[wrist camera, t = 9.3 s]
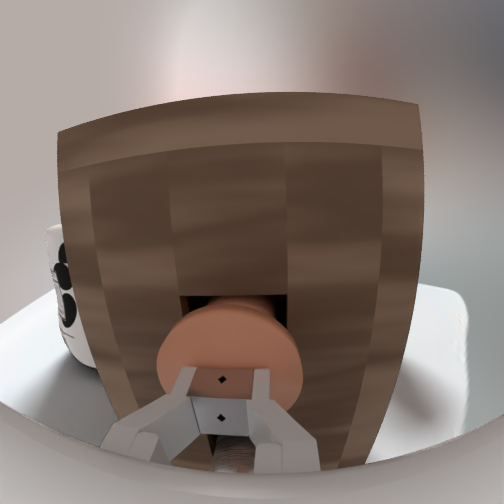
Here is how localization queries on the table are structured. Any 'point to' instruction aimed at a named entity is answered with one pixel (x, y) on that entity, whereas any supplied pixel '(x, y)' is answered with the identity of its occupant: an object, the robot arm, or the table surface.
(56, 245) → the milk container
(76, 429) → the table surface
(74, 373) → the table surface
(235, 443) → the grey plug
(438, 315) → the table surface
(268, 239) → the box
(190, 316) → the terracotta plug
